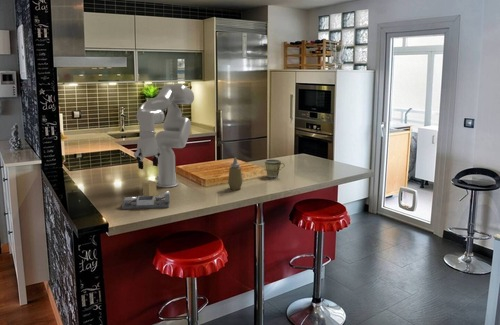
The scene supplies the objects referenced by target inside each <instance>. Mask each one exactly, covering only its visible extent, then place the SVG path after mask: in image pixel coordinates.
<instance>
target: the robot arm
mask: <svg viewBox="0 0 500 325" xmlns="http://www.w3.org/2000/svg"><path fill="white" fill-rule="evenodd" d="M194 100H195V93H194V92H193V90H192V89H190V87H187V85H183V84H166V85H164V86H162V88H161V90H160V91H159V92H158V94H157V96H155V97H152V98H151V99H149V100H146V101H145V102H143V103H142V104H141V105H140V106H139V107H138V109H137V113H136V120H137V121H138V123H139V124H138V126H139V137H137V138H138V139H137V147H136V151H135V152H134V153H133V156H134V159H135V160H136V162H137V167H138V169H139V170H143V169H144V161H143V160H144V159H145V158H150V157H152V166H153V167H158V175H157V176H156V177H155V180H156V187H159V188H174V187H177V186H178V185H179V181H177V180H176V155H175V152H174V150H173V149H183V148H185V147H186V145H187V142H188V140H189V136H190V133H191V129H192V122H191V119H189V117H185V116H183V111H182V109H181V108H180V107H179V106H178V105H191V104H193V102H194ZM163 110H167V113H166V116H165V112H164V111H163ZM163 121H164V122H163ZM161 123H163V125H162V128H163V130H161V131H158V132H156V130H155V124H156V125H157V124H159V125H160V124H161Z"/></svg>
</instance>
